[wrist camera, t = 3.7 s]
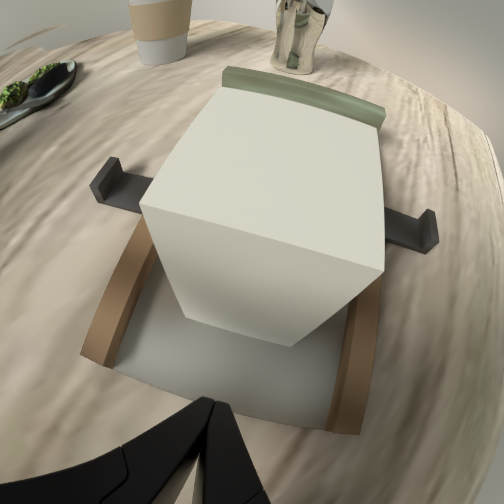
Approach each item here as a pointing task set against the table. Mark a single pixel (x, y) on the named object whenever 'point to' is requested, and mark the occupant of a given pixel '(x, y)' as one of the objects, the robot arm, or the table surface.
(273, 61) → the beer glass
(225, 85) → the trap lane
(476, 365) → the table surface
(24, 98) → the salad plate
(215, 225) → the block
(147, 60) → the coffee cup
